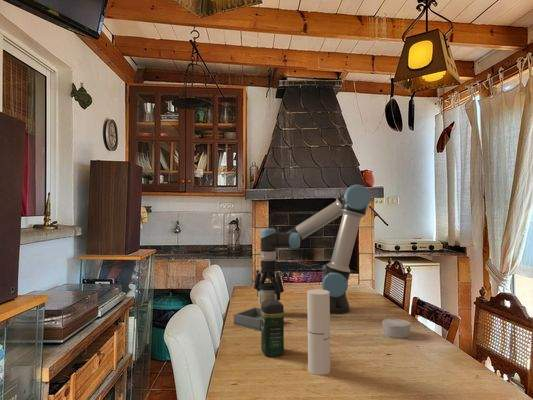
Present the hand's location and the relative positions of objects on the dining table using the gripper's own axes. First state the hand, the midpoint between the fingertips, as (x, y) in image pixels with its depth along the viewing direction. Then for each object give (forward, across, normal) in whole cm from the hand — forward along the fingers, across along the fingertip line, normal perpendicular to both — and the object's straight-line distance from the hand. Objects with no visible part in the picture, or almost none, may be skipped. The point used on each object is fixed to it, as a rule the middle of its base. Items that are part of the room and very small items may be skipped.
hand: (268, 305), depth 180 cm
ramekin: (+5, +60, +8) cm, 61 cm away
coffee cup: (+5, 0, 0) cm, 5 cm away
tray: (+5, +4, -14) cm, 15 cm away
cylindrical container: (+5, +51, -40) cm, 65 cm away
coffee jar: (+5, +30, -37) cm, 48 cm away
